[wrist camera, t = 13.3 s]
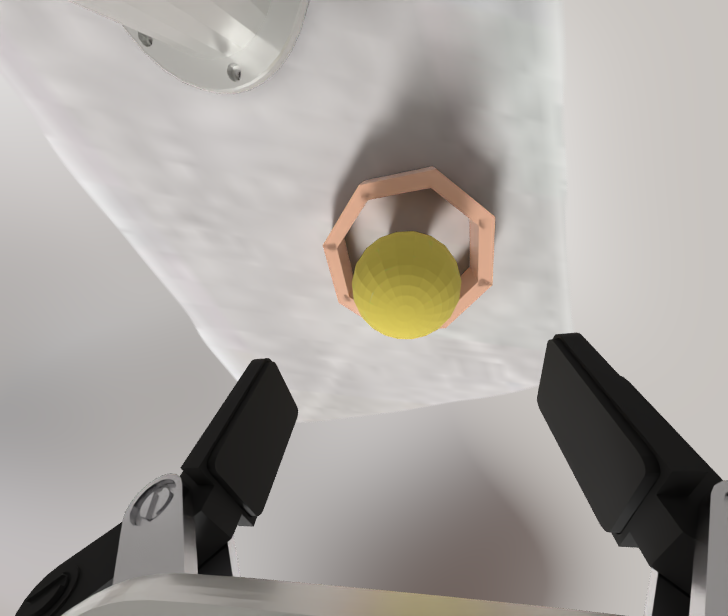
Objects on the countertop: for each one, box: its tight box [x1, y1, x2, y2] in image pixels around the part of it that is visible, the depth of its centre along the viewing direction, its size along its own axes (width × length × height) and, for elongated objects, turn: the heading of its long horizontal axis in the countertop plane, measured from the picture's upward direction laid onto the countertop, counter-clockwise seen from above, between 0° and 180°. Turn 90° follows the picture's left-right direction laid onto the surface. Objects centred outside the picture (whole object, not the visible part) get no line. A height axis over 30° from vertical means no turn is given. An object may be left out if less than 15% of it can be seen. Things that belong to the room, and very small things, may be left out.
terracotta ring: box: [323, 166, 495, 328], centre depth 21 cm, size 12×12×3 cm
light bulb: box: [352, 231, 461, 339], centre depth 18 cm, size 7×7×10 cm
